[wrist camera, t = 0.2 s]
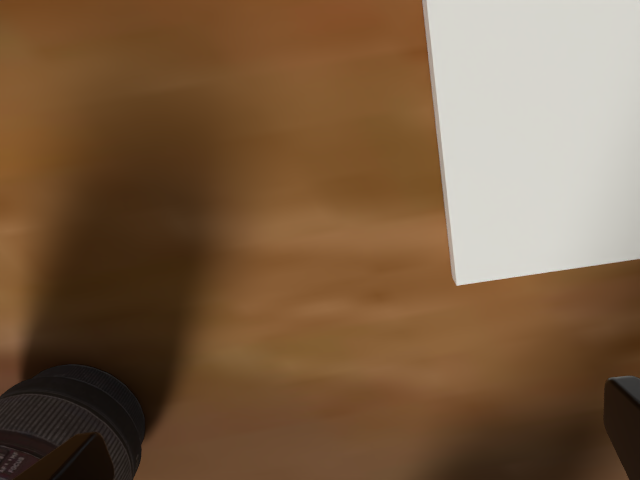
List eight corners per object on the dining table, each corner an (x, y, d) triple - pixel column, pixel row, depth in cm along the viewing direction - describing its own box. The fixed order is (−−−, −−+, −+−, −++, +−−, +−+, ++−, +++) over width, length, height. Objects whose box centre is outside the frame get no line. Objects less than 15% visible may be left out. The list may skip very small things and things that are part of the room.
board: (728, 235, 22) (745, 243, 21) (452, 276, 24) (456, 285, 23) (752, -73, 19) (774, -80, 18) (421, -5, 20) (425, -9, 19)
